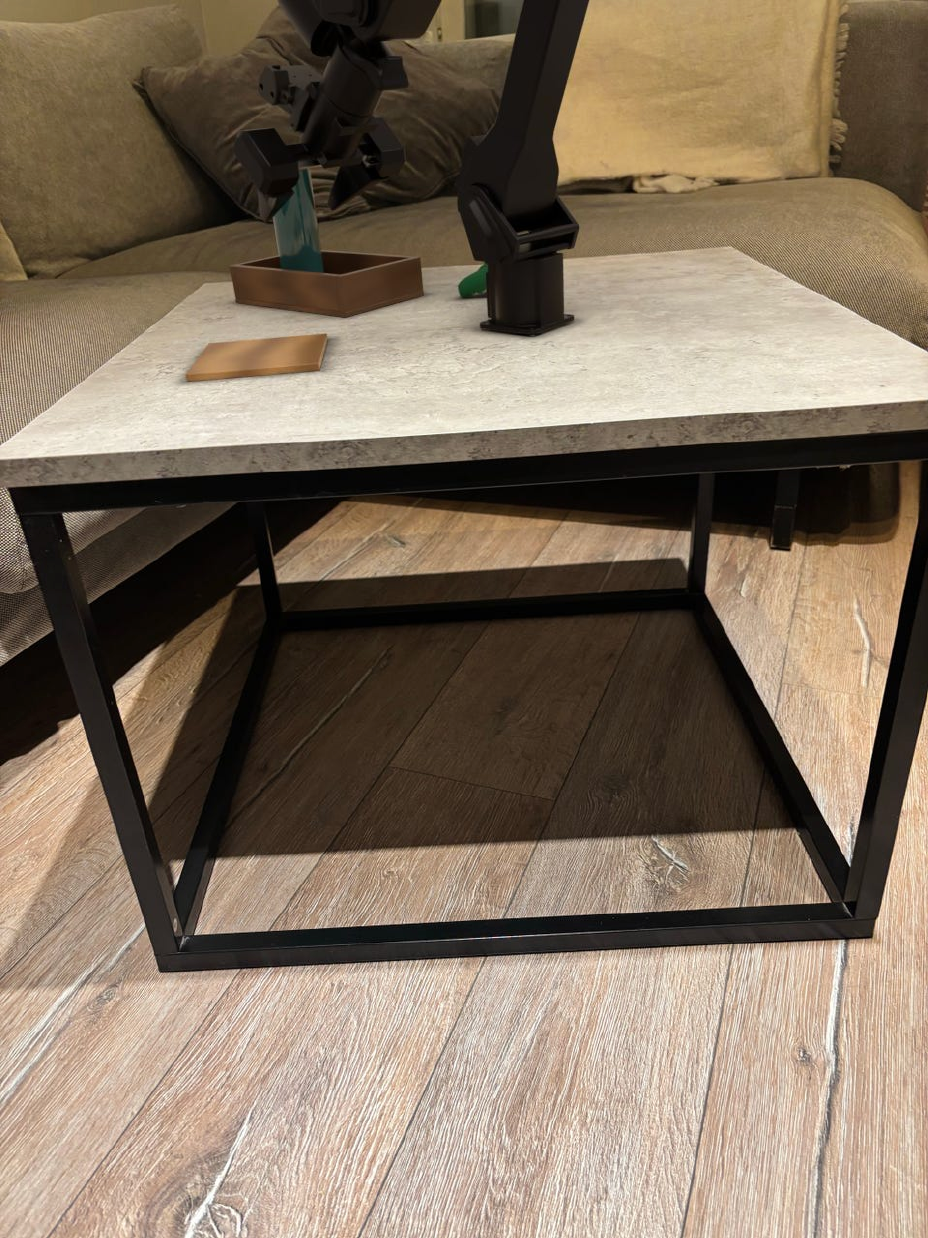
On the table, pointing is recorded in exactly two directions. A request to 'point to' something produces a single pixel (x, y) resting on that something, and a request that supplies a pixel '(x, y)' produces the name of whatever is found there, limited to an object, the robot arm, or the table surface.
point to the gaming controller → (474, 283)
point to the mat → (259, 357)
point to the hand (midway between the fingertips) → (297, 212)
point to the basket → (330, 283)
